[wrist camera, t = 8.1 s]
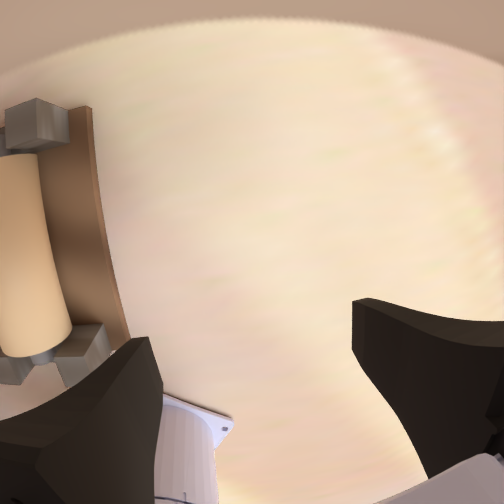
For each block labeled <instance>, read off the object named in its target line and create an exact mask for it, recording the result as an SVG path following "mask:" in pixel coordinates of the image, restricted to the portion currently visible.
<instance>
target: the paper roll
mask: <svg viewBox="0 0 504 504" xmlns="http://www.w3.org/2000/svg"><path fill="white" fill-rule="evenodd" d="M71 331H72V324H71V320H70V317H69V314H68V311H67V308H66V304H65V301H64V297H63V294H62V290H61V287H60V283H59V279H58V275H57V271H56V267H55V263H54V259H53V254H52V250H51V245H50V240H49V235H48V230H47V225H46V219H45V213H44V207H43V200H42V193H41V186H40V177H39V168H38V158H37V155H36V154H16V155H11V149H6V139H5V134H1V135H0V347H1V349H2V351H3V353H4V354H6V355H8V356H11V357H27V356H30V358H31V360H32V363H33V364H34V365H45V364H48V363H50V362H51V361H53V360H54V358H53V357H54V356H55V354H56V350H55V346H56V345H58V344H59V343H61V342H62V341H63V340H64V339H66V338H67V337H68V335H69V334H70V333H71Z"/></svg>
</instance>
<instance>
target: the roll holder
mask: <svg viewBox="0 0 504 504" xmlns="http://www.w3.org/2000/svg"><path fill="white" fill-rule="evenodd" d="M1 134H5V139H6V149H11V155H16V154H36V155H37V158H38V168H39V177H40V186H41V193H42V200H43V207H44V213H45V219H46V225H47V230H48V235H49V240H50V245H51V250H52V254H53V259H54V263H55V267H56V271H57V275H58V279H59V283H60V287H61V290H62V294H63V297H64V301H65V304H66V308H67V311H68V314H69V317H70V320H71V324H72V331H71V333H70V334H69V335H68V337H67V338H66V339H64V340H63V341H62V342H61V343H59V344H58V345H56V346H55V350H56V354H55V356H54V357H53V358H54V360H53V361H51V362H55V363H56V365H57V368H58V370H59V372H60V375H61V377H62V379H63V381H64V384H65V386H66V387H73V386H74V385H76V384H77V383H79V382H80V381H81V380H83V379H84V378H85V377H86V376H88V375H89V374H90V373H91V372H92V371H94V370H95V369H96V368H97V367H99V366H100V365H101V364H102V363H103V362H104V361H106V360H107V359H108V358H109V356H110V354H111V351H112V350H118V349H119V348H120V347H121V346H122V345H124V344H125V343H126V342H127V341H129V340H130V339H131V338H130V334H129V331H128V327H127V323H126V320H125V316H124V312H123V308H122V304H121V300H120V296H119V292H118V288H117V284H116V279H115V275H114V270H113V266H112V261H111V256H110V251H109V246H108V241H107V235H106V230H105V224H104V218H103V212H102V205H101V198H100V191H99V184H98V176H97V167H96V158H95V147H94V135H93V121H92V108H90V107H88V106H83V107H79V108H75V109H72V110H65V109H63V108H60V107H58V106H55V105H53V104H50V103H48V102H45V101H43V100H40V99H38V98H35V99H32V100H29V101H27V102H24V103H21V104H19V105H16V106H14V107H11V108H9V109H7V110H5V127H3V128H0V135H1ZM34 366H35V365H34V364H33V363H32V360H31V358H30V356H27V357H11V356H8V355H6V354H4V353H3V351H2V349H1V347H0V384H9V385H21V384H22V382H23V381H24V379H25V378H26V377H27V375H28V374H29V372H30V371H31V370H32V368H33V367H34Z"/></svg>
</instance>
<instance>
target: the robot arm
mask: <svg viewBox="0 0 504 504" xmlns="http://www.w3.org/2000/svg"><path fill="white" fill-rule="evenodd" d="M352 351H353V353H354V355H355V356H356V358H357V360H358V362H359V364H360V366H361V368H362V369H363V371H364V372H365V373H366V375H367V376H368V377H369V379H370V380H371V381H372V383H373V384H374V385H375V387H376V388H377V389H378V391H379V392H380V393H381V394H382V396H383V397H384V398H385V400H386V401H387V402H388V404H389V405H390V406H391V408H392V409H393V410H394V412H395V413H396V415H397V416H398V418H399V420H400V422H401V423H402V425H403V427H404V429H405V430H406V432H407V434H408V436H409V438H410V440H411V442H412V444H413V446H414V448H415V450H416V452H417V454H418V456H419V458H420V461H421V463H422V465H423V467H424V470H425V472H426V474H427V477H428V480H426V481H424V482H422V483H420V484H418V485H416V486H414V487H412V488H410V489H408V490H405V491H403V492H401V493H399V494H396V495H394V496H392V497H389V498H387V499H384V500H382V501H379V502H377V503H374V504H504V321H471V320H461V319H454V318H447V317H442V316H437V315H433V314H428V313H424V312H420V311H416V310H413V309H409V308H406V307H402V306H399V305H395V304H392V303H388V302H385V301H381V300H377V299H372V298H364V299H360V300H356V301H352ZM223 427H226V428H223ZM233 427H234V420H233V419H231V418H229V417H226V416H223V415H220V414H217V413H214V412H211V411H208V410H205V409H202V408H200V407H197V406H194V405H191V404H189V403H186V402H183V401H181V400H178V399H176V398H173V397H171V396H168V395H166V394H163V381H162V379H161V376H160V373H159V369H158V366H157V363H156V360H155V357H154V354H153V351H152V347H151V344H150V341H149V337H139V338H132V339H130V340H129V341H127V342H126V343H125V344H124V345H122V346H121V347H120V348H119V349H118V350H117V351H116V352H115V353H113V354H112V355H111V356H110V357H109V358H108V359H107V360H106V361H104V362H103V363H102V364H101V365H100V366H99V367H97V368H96V369H95V370H94V371H92V372H91V373H90V374H89V375H88V376H86V377H85V378H84V379H83V380H81V381H80V382H79V383H77V384H76V385H74V386H73V387H71V388H70V389H68V390H67V391H65V392H64V393H62V394H61V395H59V396H57V397H55V398H54V399H52V400H50V401H48V402H46V403H44V404H42V405H40V406H38V407H36V408H34V409H32V410H29V411H27V412H24V413H22V414H19V415H17V416H14V417H11V418H8V419H5V420H1V421H0V504H219V497H218V487H217V476H216V464H215V452H214V450H215V449H216V448H217V447H218V445H219V444H220V443H221V442H222V440H223V439H224V438H225V437H226V435H227V434H228V433H229V432H230V430H231V429H232V428H233Z"/></svg>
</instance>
